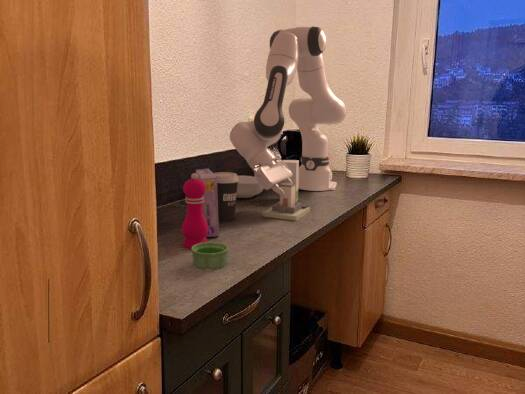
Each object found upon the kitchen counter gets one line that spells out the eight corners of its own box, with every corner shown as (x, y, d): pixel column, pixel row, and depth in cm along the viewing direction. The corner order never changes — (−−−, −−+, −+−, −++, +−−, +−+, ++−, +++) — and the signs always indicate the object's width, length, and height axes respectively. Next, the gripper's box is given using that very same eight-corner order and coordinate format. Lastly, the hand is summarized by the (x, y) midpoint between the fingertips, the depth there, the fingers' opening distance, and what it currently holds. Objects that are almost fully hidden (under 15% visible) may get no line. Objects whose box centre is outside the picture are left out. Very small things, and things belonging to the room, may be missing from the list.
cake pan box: (195, 221, 157) (195, 167, 153) (211, 220, 158) (211, 167, 154) (202, 239, 139) (201, 178, 135) (219, 238, 140) (219, 177, 136)
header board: (278, 207, 177) (278, 198, 176) (309, 211, 172) (310, 201, 172) (263, 216, 165) (263, 206, 164) (296, 220, 160) (296, 210, 159)
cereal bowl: (246, 202, 184) (246, 184, 183) (214, 196, 194) (214, 179, 193) (272, 195, 198) (273, 178, 196) (241, 190, 207) (241, 173, 206)
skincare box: (295, 203, 185) (297, 162, 181) (278, 202, 186) (279, 162, 182) (298, 198, 193) (299, 159, 189) (282, 197, 194) (283, 159, 191)
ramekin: (218, 273, 113) (218, 255, 112) (184, 267, 117) (184, 250, 116) (234, 261, 122) (234, 244, 121) (202, 256, 125) (202, 240, 124)
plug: (283, 207, 171) (284, 182, 169) (294, 209, 169) (295, 183, 167) (279, 210, 167) (280, 184, 165) (290, 211, 166) (291, 185, 164)
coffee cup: (216, 224, 154) (216, 177, 151) (205, 217, 163) (205, 172, 159) (243, 220, 159) (244, 175, 155) (231, 214, 167) (232, 171, 164)
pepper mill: (182, 241, 136) (181, 170, 132) (208, 241, 137) (208, 171, 133) (180, 249, 129) (179, 175, 125) (208, 249, 130) (207, 175, 126)
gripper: (257, 160, 158) (284, 192, 156) (280, 153, 176) (305, 182, 174) (244, 172, 161) (271, 204, 159) (268, 164, 179) (292, 193, 177)
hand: (289, 193), depth 167 cm, fingers open, 8 cm apart
